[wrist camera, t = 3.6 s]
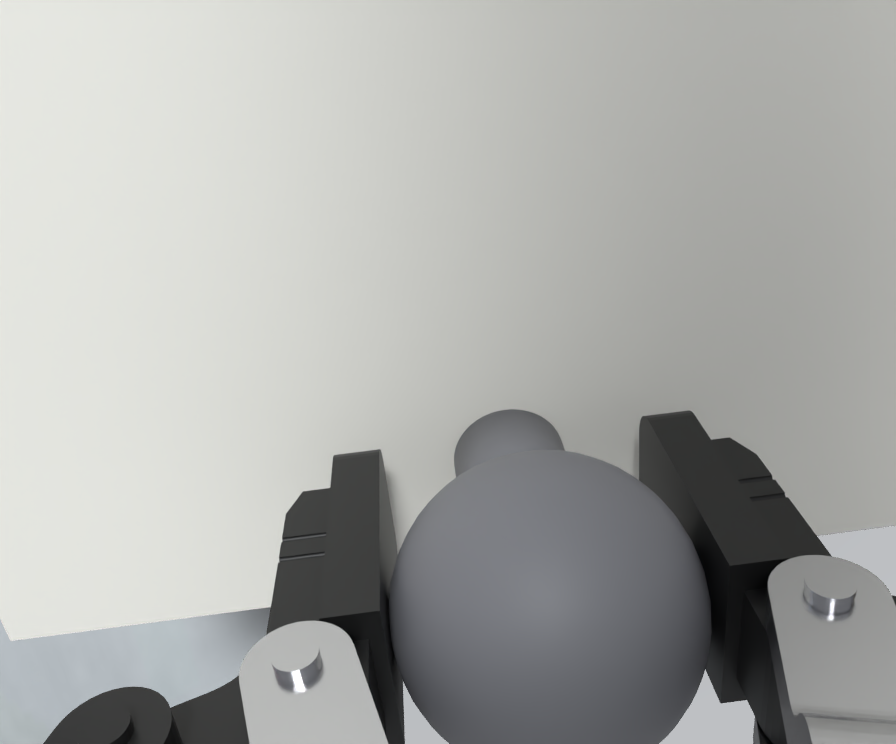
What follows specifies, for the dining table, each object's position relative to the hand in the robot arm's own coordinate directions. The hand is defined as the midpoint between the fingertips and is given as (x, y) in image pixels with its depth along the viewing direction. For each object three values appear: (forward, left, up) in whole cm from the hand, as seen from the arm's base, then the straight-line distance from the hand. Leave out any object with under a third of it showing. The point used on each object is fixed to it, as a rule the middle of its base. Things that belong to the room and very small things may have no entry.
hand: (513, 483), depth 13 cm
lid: (-7, 0, -2) cm, 7 cm away
